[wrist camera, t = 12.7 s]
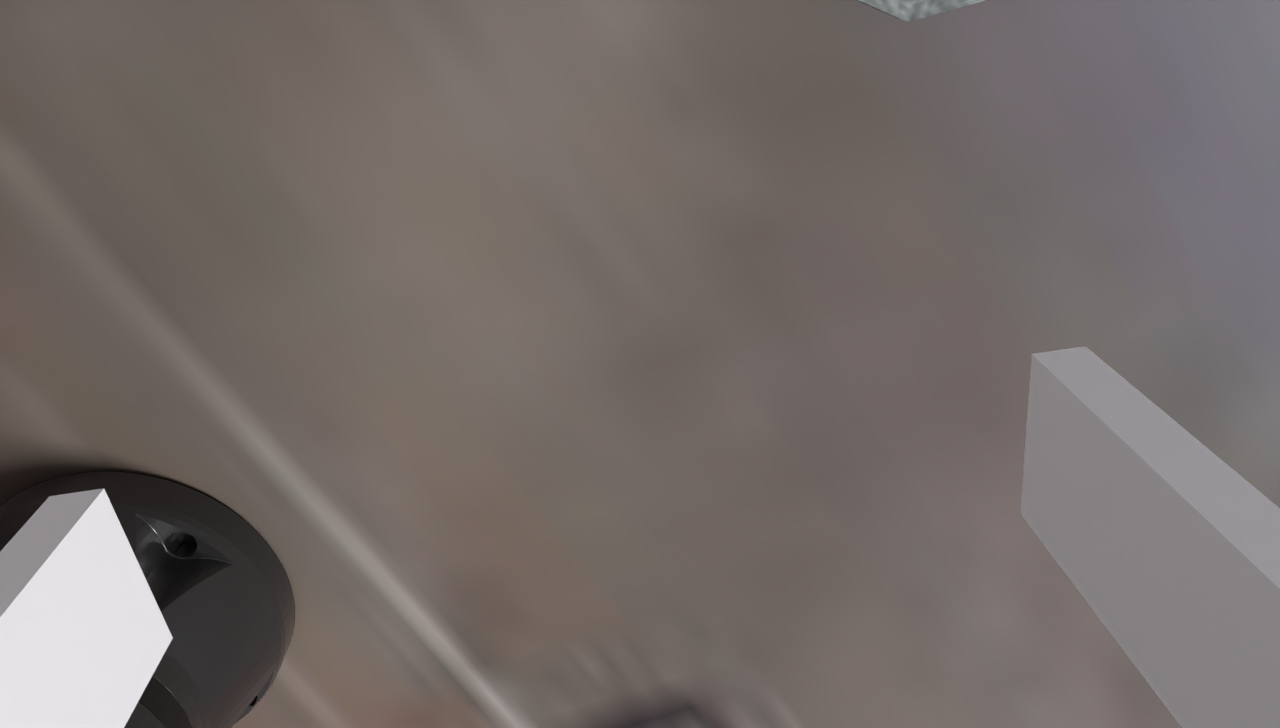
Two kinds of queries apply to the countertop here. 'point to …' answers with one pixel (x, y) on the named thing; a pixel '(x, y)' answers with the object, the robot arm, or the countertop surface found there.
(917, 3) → the mortar and pestle
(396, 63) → the countertop surface
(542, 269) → the countertop surface
